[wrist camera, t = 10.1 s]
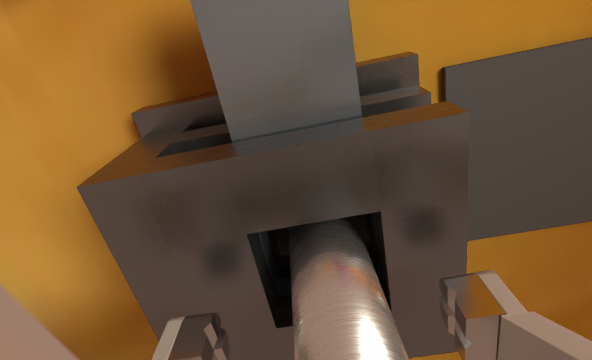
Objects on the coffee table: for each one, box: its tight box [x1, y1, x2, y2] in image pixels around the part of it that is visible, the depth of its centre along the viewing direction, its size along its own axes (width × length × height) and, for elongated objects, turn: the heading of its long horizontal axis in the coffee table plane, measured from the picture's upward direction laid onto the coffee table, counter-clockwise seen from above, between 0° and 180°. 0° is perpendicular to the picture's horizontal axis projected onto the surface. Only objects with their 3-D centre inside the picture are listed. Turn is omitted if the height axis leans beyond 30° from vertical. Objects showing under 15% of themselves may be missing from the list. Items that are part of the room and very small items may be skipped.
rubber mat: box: [443, 37, 592, 241], centre depth 17 cm, size 10×10×1 cm
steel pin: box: [289, 216, 409, 360], centre depth 13 cm, size 3×3×10 cm
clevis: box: [77, 0, 469, 360], centre depth 14 cm, size 13×17×7 cm
